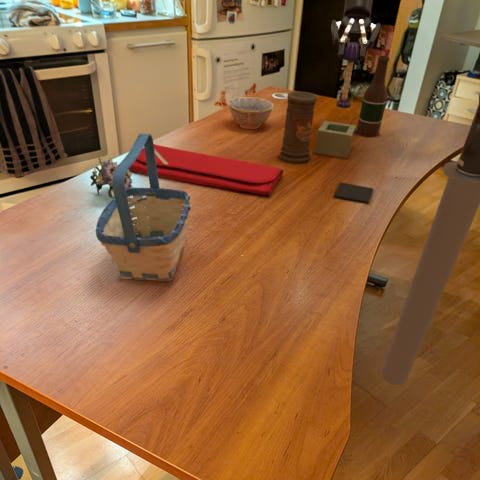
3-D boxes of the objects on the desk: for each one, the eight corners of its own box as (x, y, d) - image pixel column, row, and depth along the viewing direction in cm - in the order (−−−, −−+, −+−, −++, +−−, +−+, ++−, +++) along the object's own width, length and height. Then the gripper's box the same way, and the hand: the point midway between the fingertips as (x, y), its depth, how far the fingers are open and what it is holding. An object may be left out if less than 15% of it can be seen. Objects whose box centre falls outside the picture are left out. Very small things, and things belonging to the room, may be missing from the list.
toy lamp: (351, 109, 137) (363, 44, 126) (335, 108, 137) (346, 43, 126) (349, 104, 141) (360, 41, 130) (334, 103, 141) (344, 40, 130)
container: (274, 157, 141) (279, 94, 130) (291, 150, 147) (299, 89, 135) (297, 165, 137) (305, 101, 125) (314, 158, 142) (324, 95, 131)
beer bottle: (366, 128, 167) (383, 53, 151) (383, 134, 162) (401, 58, 146) (351, 131, 163) (366, 54, 148) (367, 138, 158) (385, 60, 143)
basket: (124, 235, 102) (110, 126, 87) (197, 242, 101) (195, 133, 86) (91, 291, 86) (66, 169, 71) (177, 300, 85) (170, 179, 70)
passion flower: (127, 219, 119) (121, 196, 107) (86, 207, 118) (75, 183, 107) (141, 181, 122) (135, 155, 110) (101, 170, 121) (91, 142, 110)
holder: (352, 147, 151) (356, 125, 146) (347, 158, 143) (351, 135, 139) (321, 142, 153) (324, 120, 149) (314, 152, 146) (317, 130, 141)
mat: (372, 190, 126) (373, 188, 126) (368, 203, 120) (368, 201, 119) (340, 184, 128) (340, 182, 128) (334, 197, 122) (334, 195, 121)
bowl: (281, 127, 163) (283, 105, 158) (249, 137, 154) (250, 113, 149) (249, 116, 171) (251, 94, 167) (217, 124, 163) (218, 101, 158)
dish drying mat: (268, 198, 120) (269, 184, 117) (126, 172, 128) (125, 159, 126) (283, 175, 131) (284, 162, 129) (152, 153, 140) (151, 140, 137)
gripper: (334, -11, 127) (326, 47, 126) (387, -7, 126) (379, 51, 124) (331, 10, 135) (324, 65, 133) (381, 13, 133) (374, 69, 132)
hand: (351, 58), depth 129 cm, fingers closed on toy lamp, 4 cm apart
